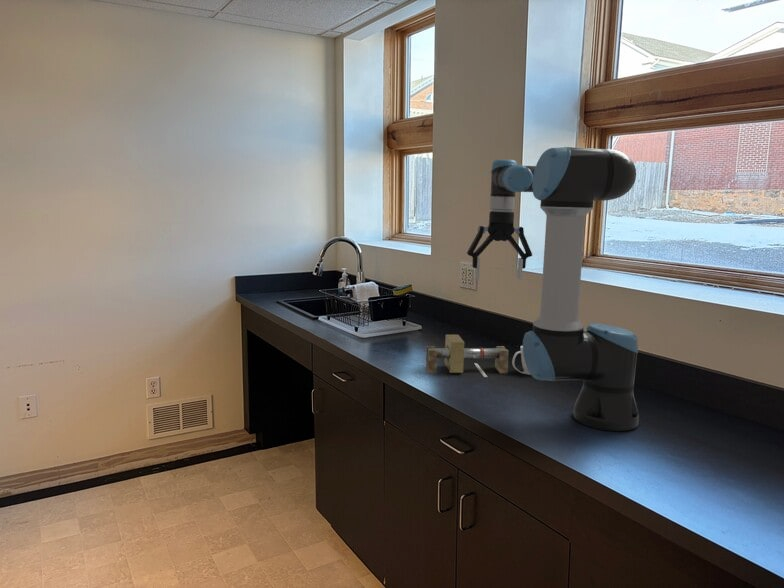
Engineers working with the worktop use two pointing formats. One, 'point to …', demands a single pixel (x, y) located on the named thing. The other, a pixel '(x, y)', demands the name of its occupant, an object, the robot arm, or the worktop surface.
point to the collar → (454, 353)
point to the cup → (522, 362)
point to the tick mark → (480, 370)
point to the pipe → (471, 352)
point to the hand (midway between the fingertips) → (498, 278)
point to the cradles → (500, 362)
